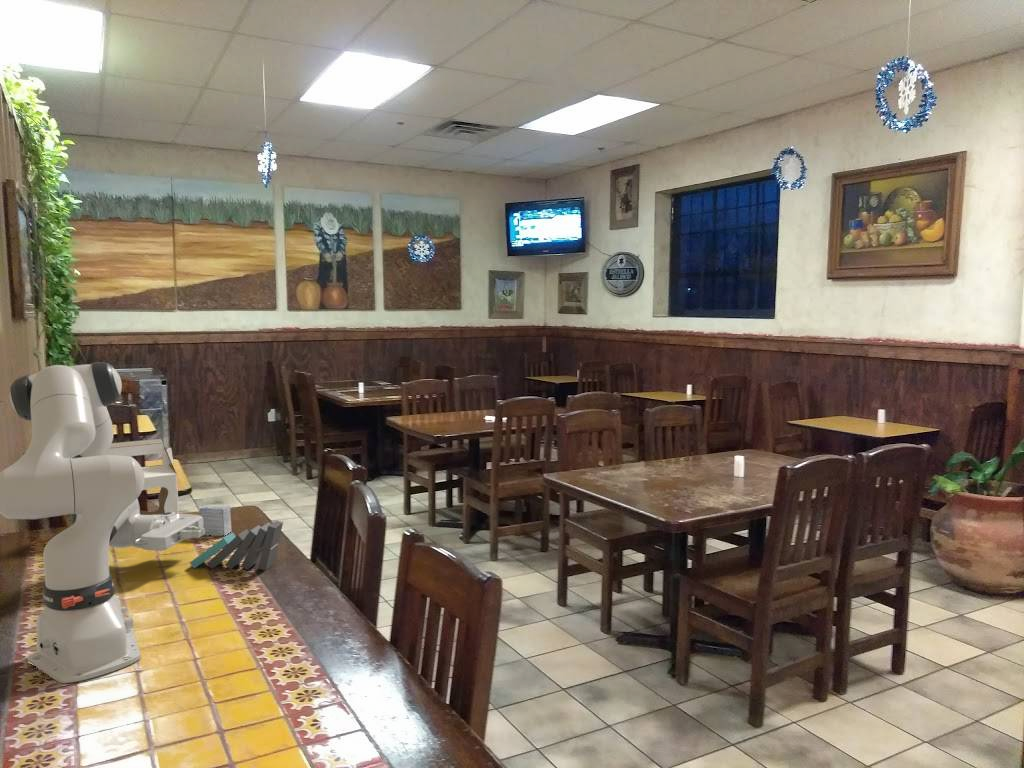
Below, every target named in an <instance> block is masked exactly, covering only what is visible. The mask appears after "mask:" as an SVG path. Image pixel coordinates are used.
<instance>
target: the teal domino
mask: <svg viewBox="0 0 1024 768" xmlns="http://www.w3.org/2000/svg"><path fill="white" fill-rule="evenodd" d="M236 536H237V535H235V533H234V532H232V531H231V533H229V534H228V535H226V536H223V537H222V538H221V539H220V540H218V541H217V542H216V543H214V544H212V546H210V547H209V548H207V549H206V550H205V551H203V552H202V553H200V554H199V555H198V556H197V557H195V558H194V559H192V560H191V561H190V562H189V564H190V566H191V567H192V568H193V569H196V568H197V567H199V566H201V565H202V564H203V563H205V562H207V560H209V559H210V558H212V557H214V556H215V555H217V554H218V553H219V552H220V551H221V550H222V549H223V548H224V547H225V546H226V545H228V544H229V543H230V542H231V541H232V540H233V539H234V538H235V537H236Z"/></svg>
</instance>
